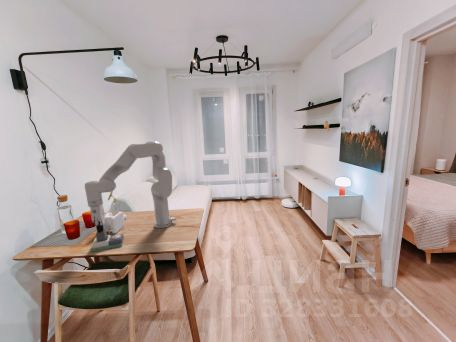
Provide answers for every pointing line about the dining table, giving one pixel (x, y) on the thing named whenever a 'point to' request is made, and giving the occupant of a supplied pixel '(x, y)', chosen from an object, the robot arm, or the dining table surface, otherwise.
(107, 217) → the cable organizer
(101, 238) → the plug
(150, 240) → the dining table surface
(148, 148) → the robot arm
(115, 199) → the flower in vase
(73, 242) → the dining table surface
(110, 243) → the header board
